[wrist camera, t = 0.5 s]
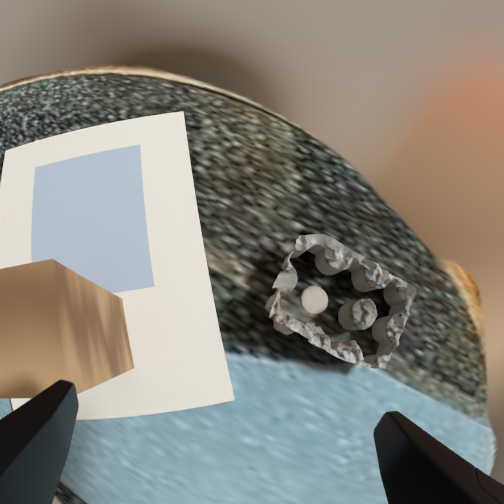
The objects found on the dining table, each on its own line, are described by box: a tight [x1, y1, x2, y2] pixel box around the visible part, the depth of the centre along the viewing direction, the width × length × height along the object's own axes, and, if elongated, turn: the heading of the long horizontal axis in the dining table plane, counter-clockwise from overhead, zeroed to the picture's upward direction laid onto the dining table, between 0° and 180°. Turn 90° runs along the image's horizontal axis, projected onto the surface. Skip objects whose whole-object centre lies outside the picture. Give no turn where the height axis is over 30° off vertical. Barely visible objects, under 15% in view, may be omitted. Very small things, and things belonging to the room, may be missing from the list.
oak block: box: [0, 259, 134, 398], centre depth 15 cm, size 5×5×12 cm
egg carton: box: [265, 234, 417, 369], centre depth 23 cm, size 11×8×4 cm
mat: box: [0, 112, 235, 420], centre depth 22 cm, size 24×18×1 cm
